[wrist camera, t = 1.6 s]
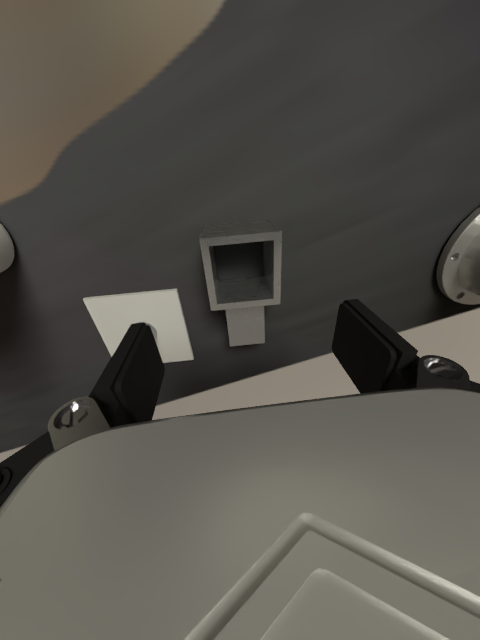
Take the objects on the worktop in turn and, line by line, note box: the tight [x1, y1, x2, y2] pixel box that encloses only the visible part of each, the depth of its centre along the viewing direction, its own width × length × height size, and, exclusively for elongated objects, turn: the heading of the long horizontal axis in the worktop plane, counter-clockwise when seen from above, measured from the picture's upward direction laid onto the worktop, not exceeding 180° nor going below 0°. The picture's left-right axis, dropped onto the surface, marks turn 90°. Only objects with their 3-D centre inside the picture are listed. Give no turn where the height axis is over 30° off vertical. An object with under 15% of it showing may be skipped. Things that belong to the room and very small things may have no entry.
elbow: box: [199, 220, 282, 346], centre depth 22 cm, size 12×6×6 cm, turn 4°
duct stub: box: [83, 289, 194, 363], centre depth 24 cm, size 10×10×6 cm
